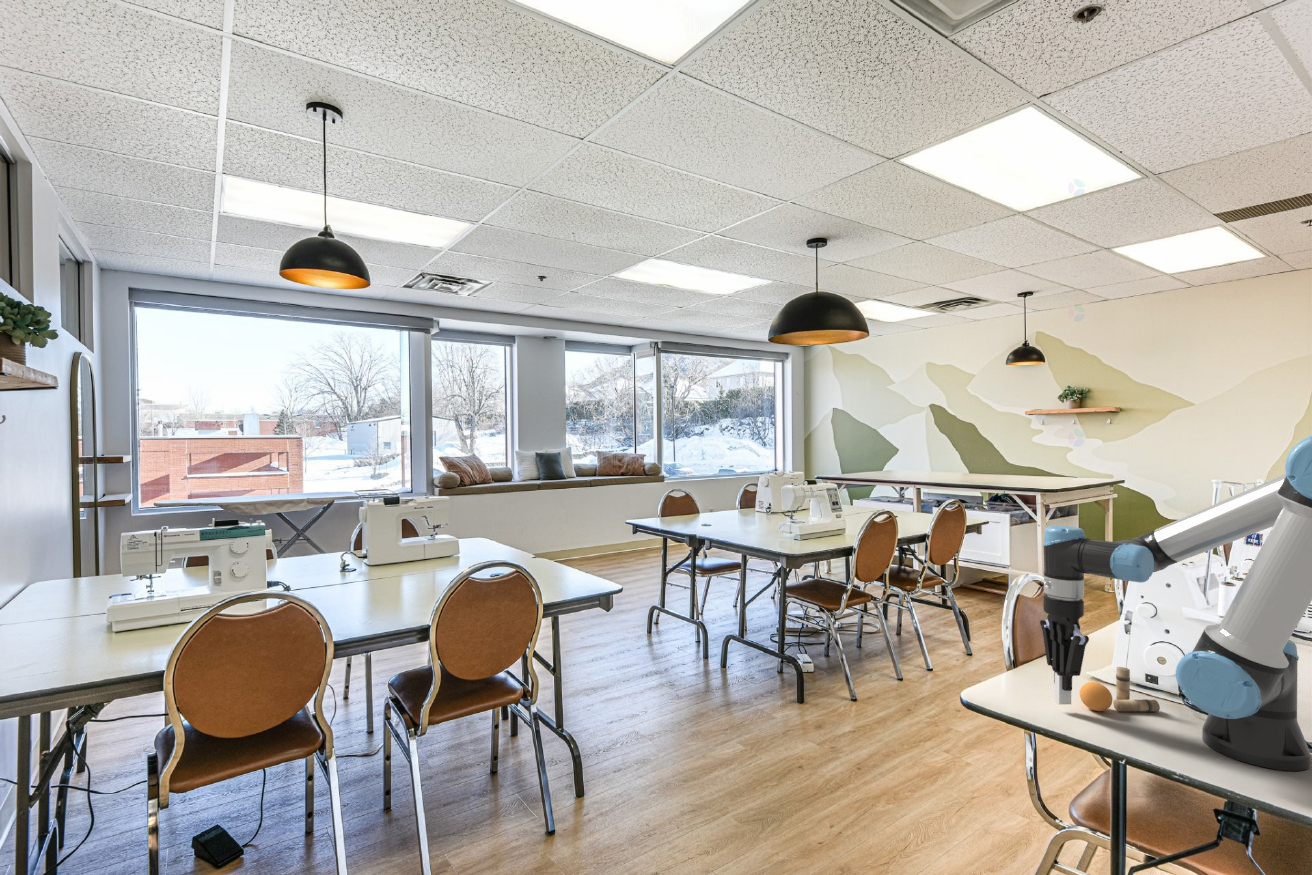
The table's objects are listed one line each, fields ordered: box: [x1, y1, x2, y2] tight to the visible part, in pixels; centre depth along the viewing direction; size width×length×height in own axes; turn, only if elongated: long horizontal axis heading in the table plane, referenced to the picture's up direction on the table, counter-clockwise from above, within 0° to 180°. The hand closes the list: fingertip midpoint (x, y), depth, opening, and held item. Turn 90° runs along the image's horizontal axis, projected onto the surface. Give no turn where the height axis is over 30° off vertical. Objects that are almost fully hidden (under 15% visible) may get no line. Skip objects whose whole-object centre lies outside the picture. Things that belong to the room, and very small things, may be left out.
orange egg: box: [1079, 681, 1113, 712], centre depth 139 cm, size 6×6×6 cm
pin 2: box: [1112, 699, 1161, 713], centre depth 139 cm, size 2×2×8 cm
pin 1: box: [1115, 666, 1131, 700], centre depth 141 cm, size 2×2×8 cm
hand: (1062, 702), depth 138 cm, fingers closed
